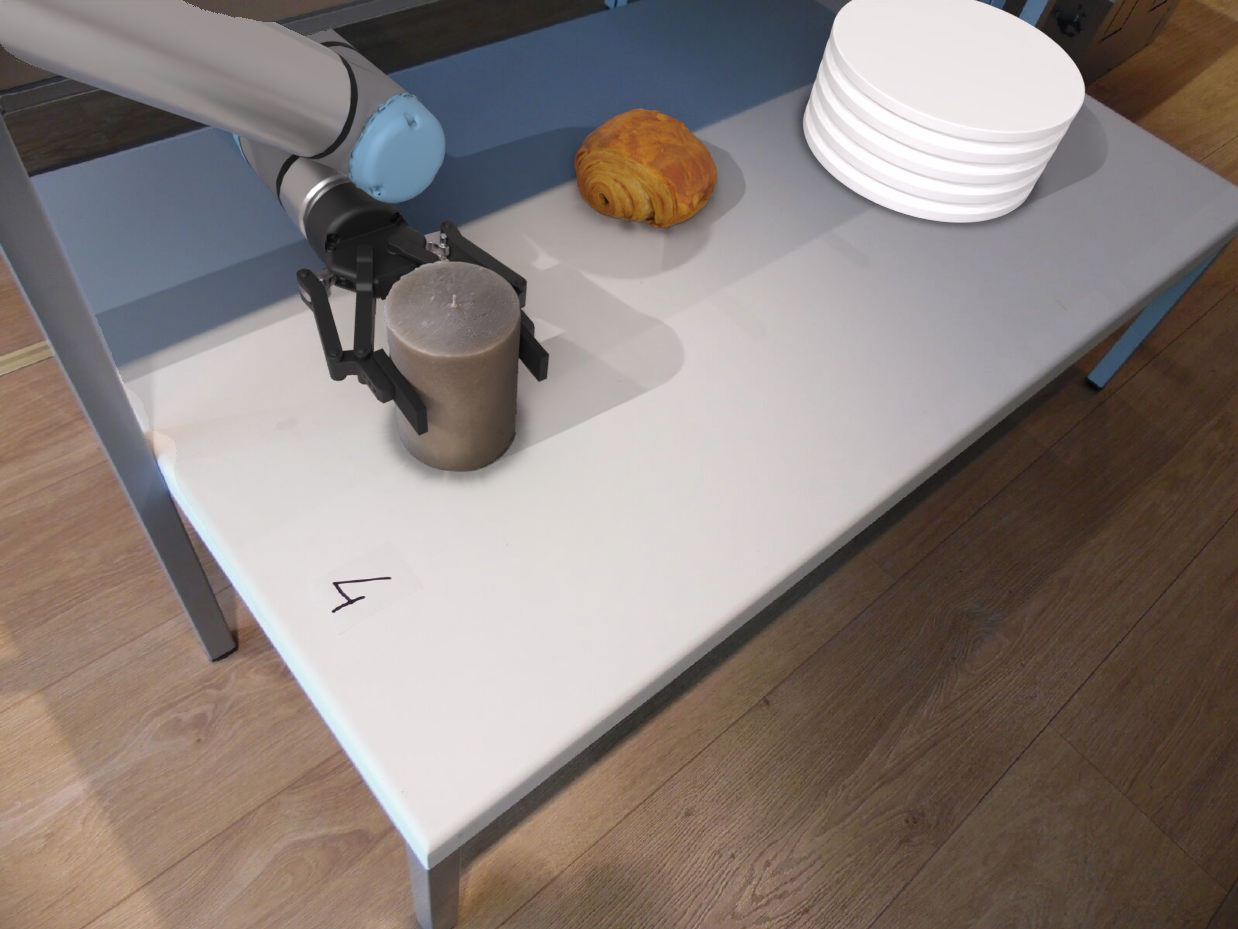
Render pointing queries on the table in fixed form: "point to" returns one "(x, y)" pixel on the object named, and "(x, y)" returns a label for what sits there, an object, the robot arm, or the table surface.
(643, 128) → the croissant
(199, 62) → the robot arm
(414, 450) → the pillar candle
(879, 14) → the plate stack
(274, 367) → the table surface
